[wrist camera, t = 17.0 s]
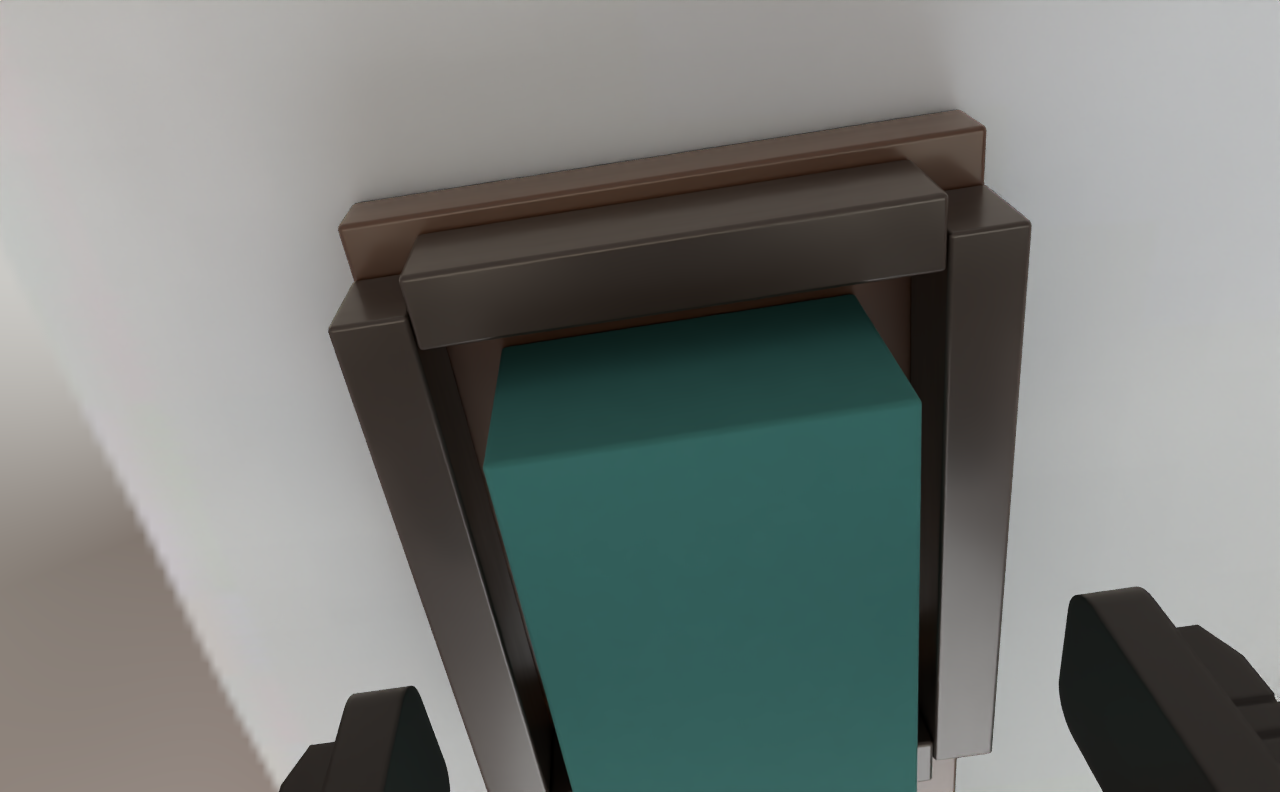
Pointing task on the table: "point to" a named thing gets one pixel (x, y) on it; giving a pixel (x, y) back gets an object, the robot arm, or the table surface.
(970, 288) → the brown block tray
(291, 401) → the table surface
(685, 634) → the teal rectangular block
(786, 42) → the table surface
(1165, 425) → the table surface
